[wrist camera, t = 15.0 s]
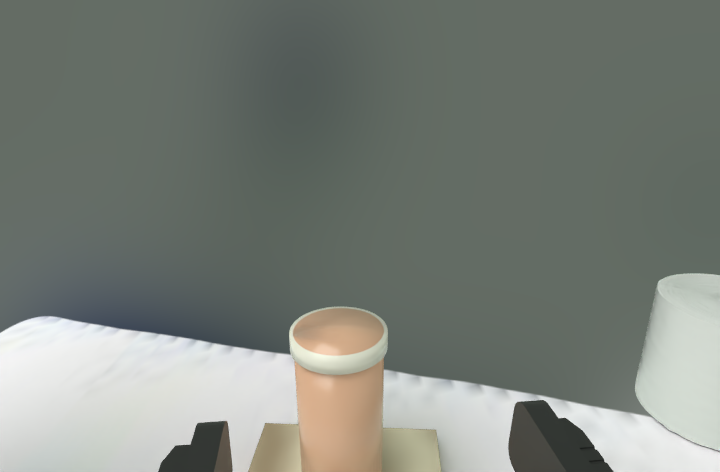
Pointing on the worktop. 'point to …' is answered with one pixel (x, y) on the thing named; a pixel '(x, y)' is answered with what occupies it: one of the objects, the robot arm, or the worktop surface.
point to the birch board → (399, 458)
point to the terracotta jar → (339, 389)
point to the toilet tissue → (684, 358)
